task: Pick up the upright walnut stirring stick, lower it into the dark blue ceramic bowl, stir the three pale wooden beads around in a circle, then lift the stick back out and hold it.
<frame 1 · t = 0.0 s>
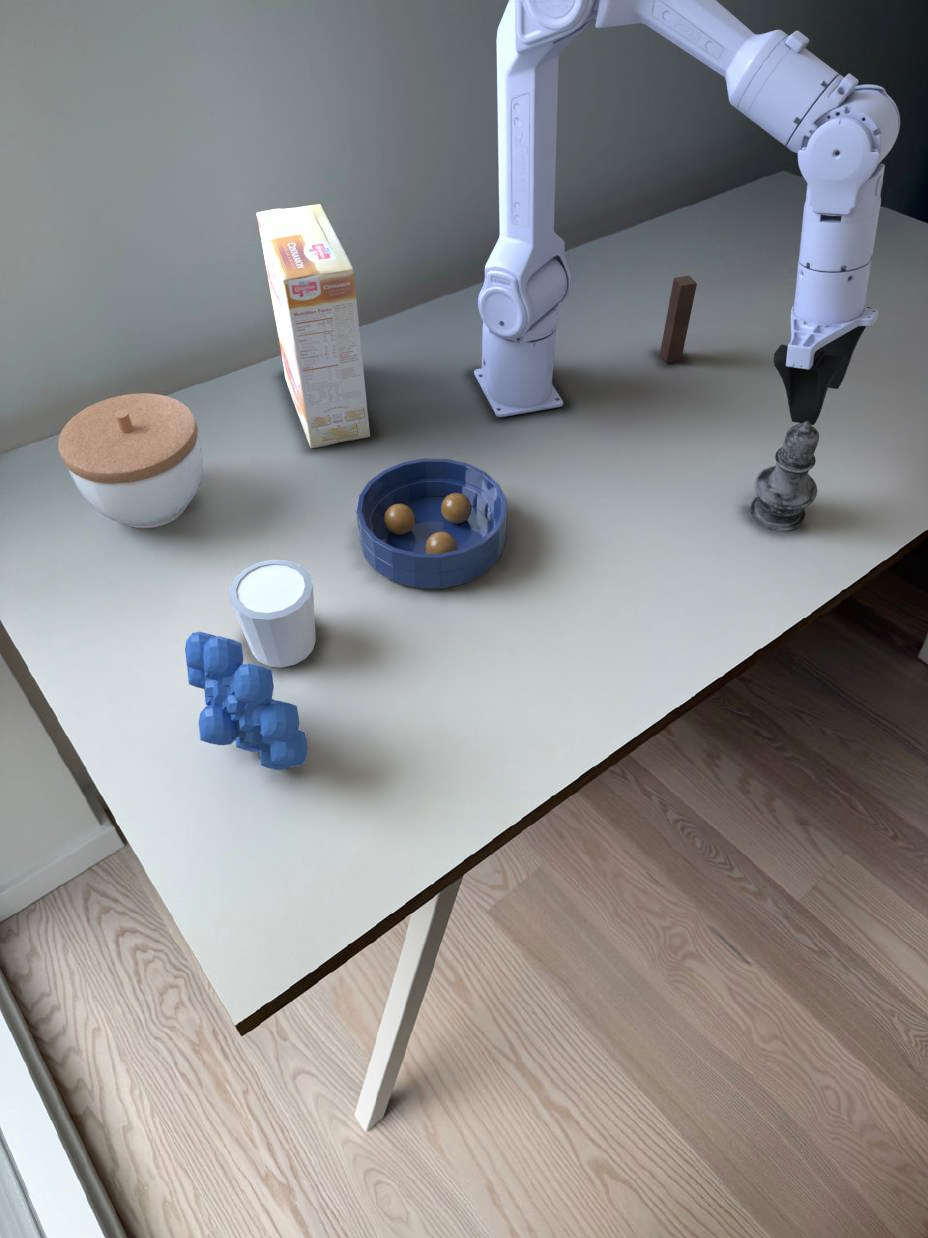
hand: (816, 403, 84), 11 cm above the table, tool pointing down, fingers open, 6 cm apart
grapes: (250, 755, 71), on the table
stick: (670, 358, 108), on the table
coffeecake box: (326, 407, 102), on the table
white cylinder: (283, 644, 78), on the table
grey chess piece: (777, 512, 89), on the table, touching gripper
lidded bowl: (153, 506, 91), on the table
bead b: (456, 508, 87), point 2 cm above the table, touching bowl
bowl: (433, 540, 87), on the table
bead c: (399, 519, 86), point 2 cm above the table, touching bowl
bead a: (441, 547, 83), point 2 cm above the table, touching bowl
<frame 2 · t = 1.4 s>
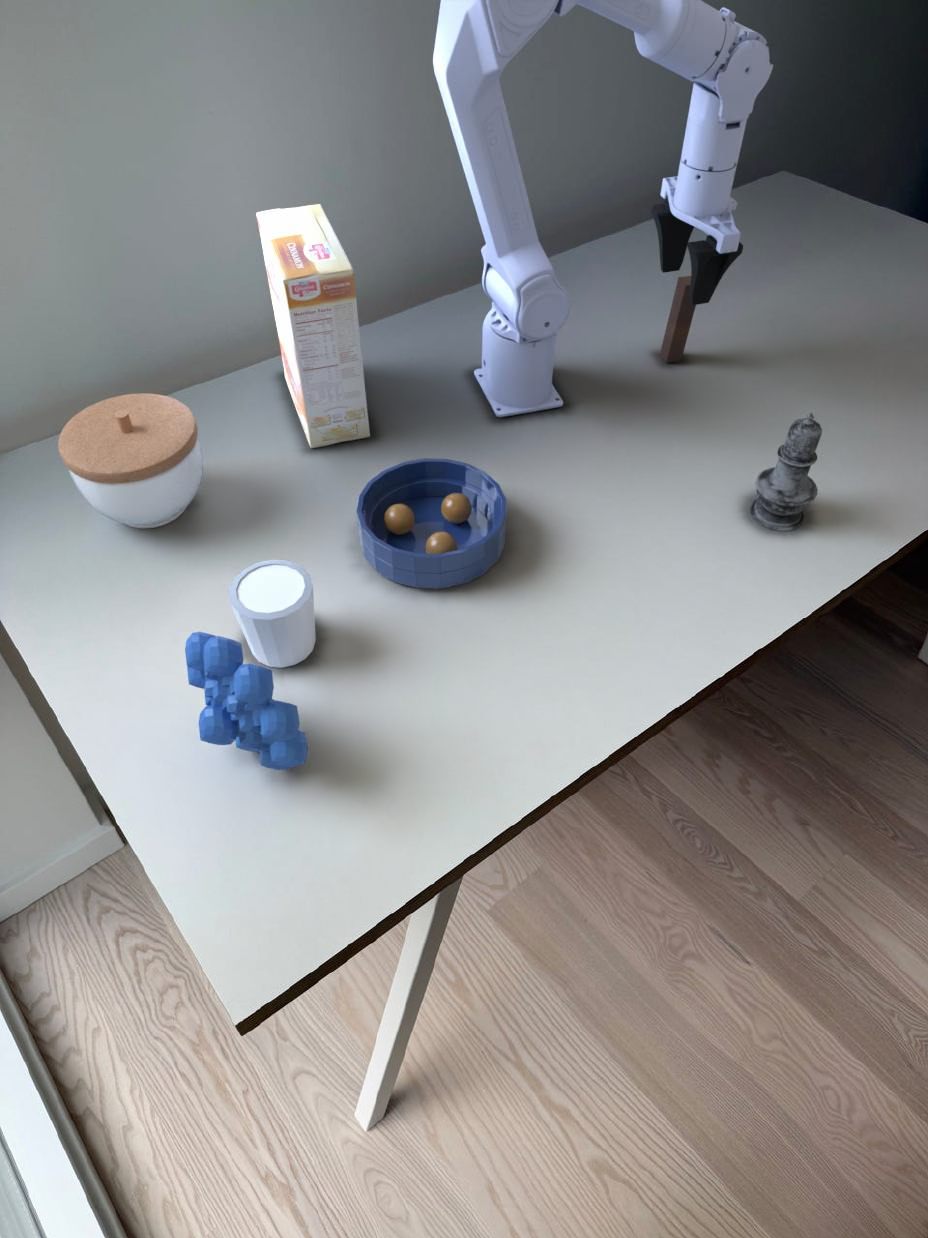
hand: (684, 285, 101), 9 cm above the table, tool pointing down, fingers open, 7 cm apart
grey chess piece: (776, 514, 90), on the table
everything else where it was.
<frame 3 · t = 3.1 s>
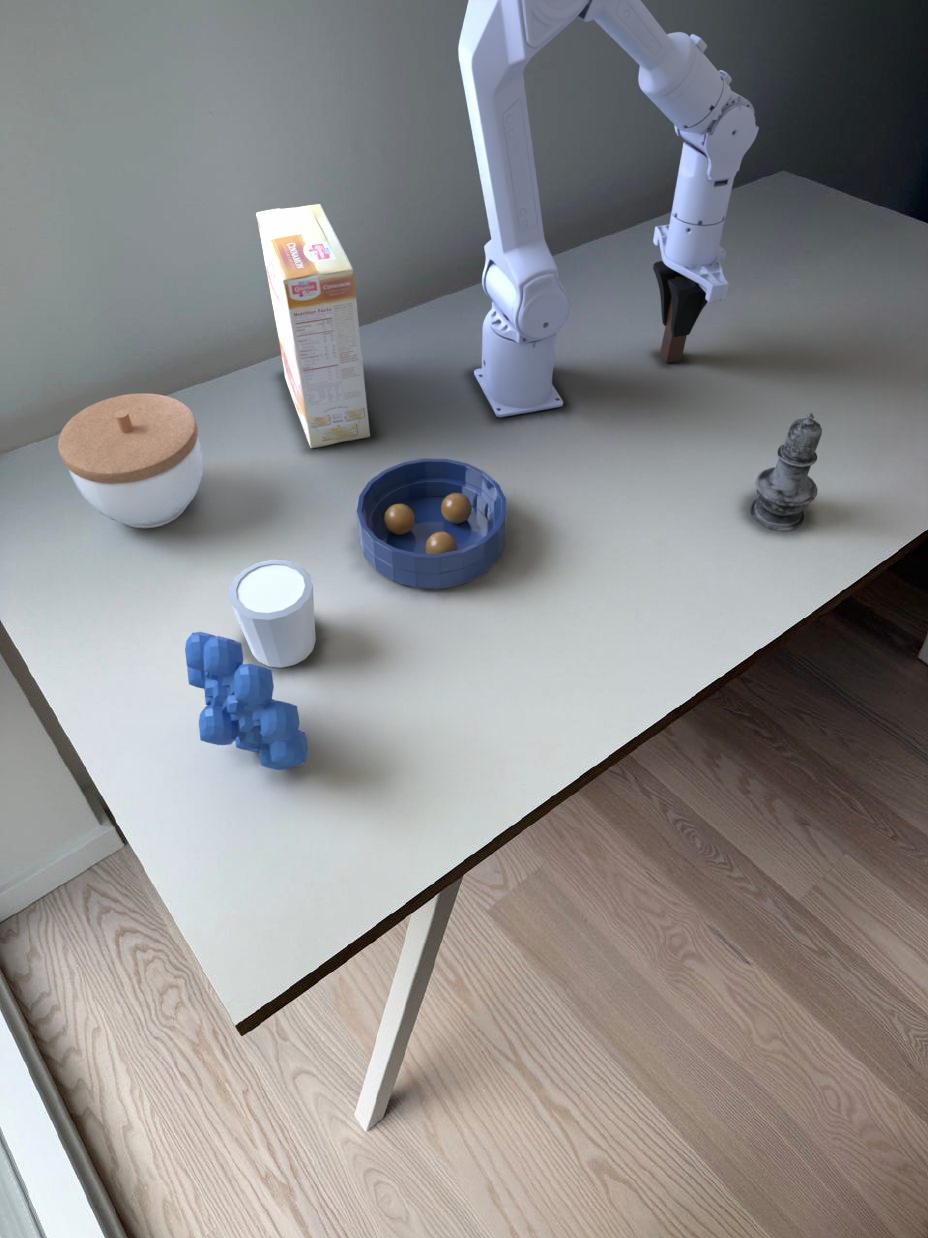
hand: (676, 329, 105), 4 cm above the table, tool pointing down, fingers closed on stick, 2 cm apart
stick: (670, 357, 108), on the table, touching gripper
everything else where it was.
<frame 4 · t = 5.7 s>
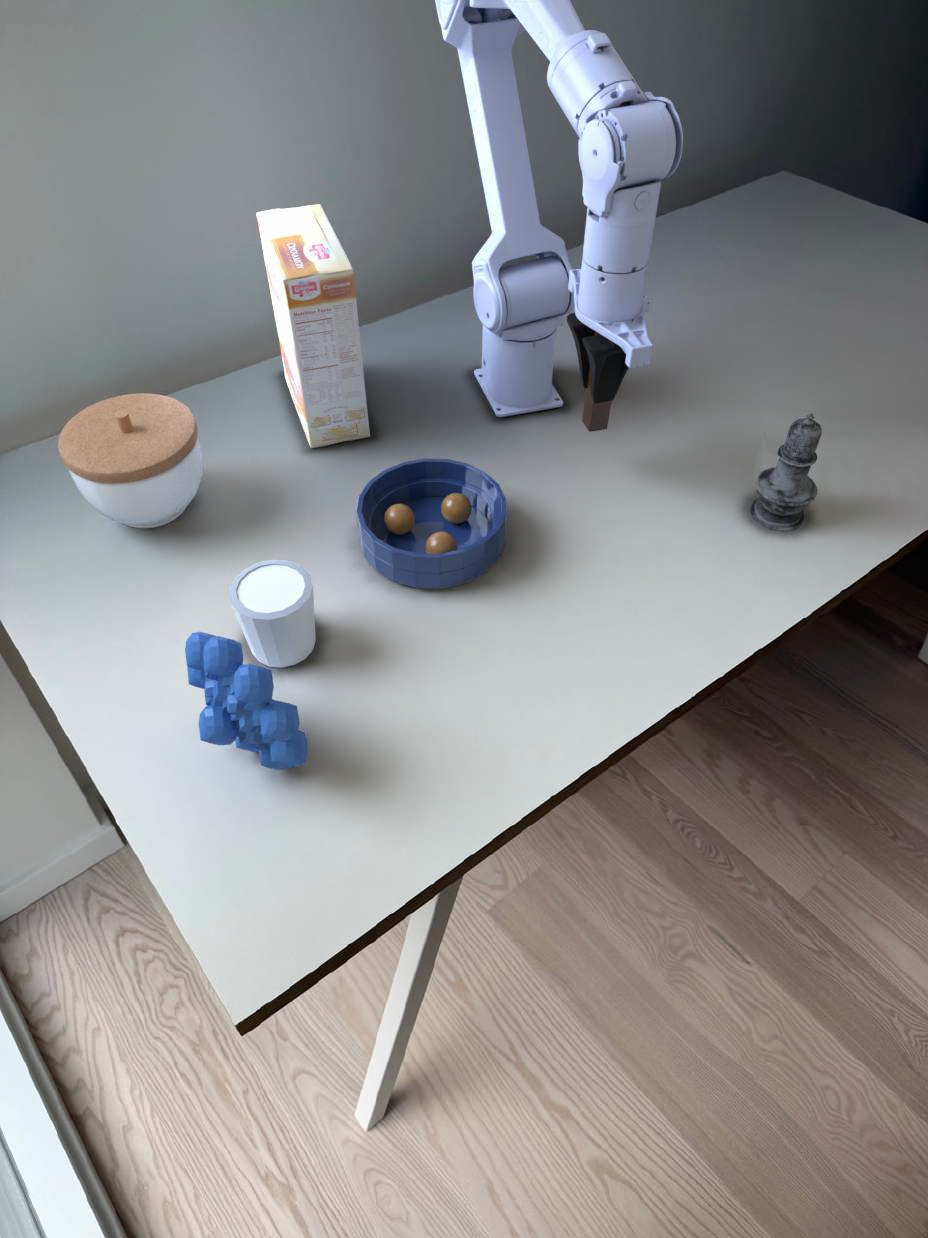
hand: (597, 392, 87), 9 cm above the table, tool pointing down, fingers closed on stick
stick: (594, 425, 90), point 6 cm above the table, touching gripper
everything else where it was.
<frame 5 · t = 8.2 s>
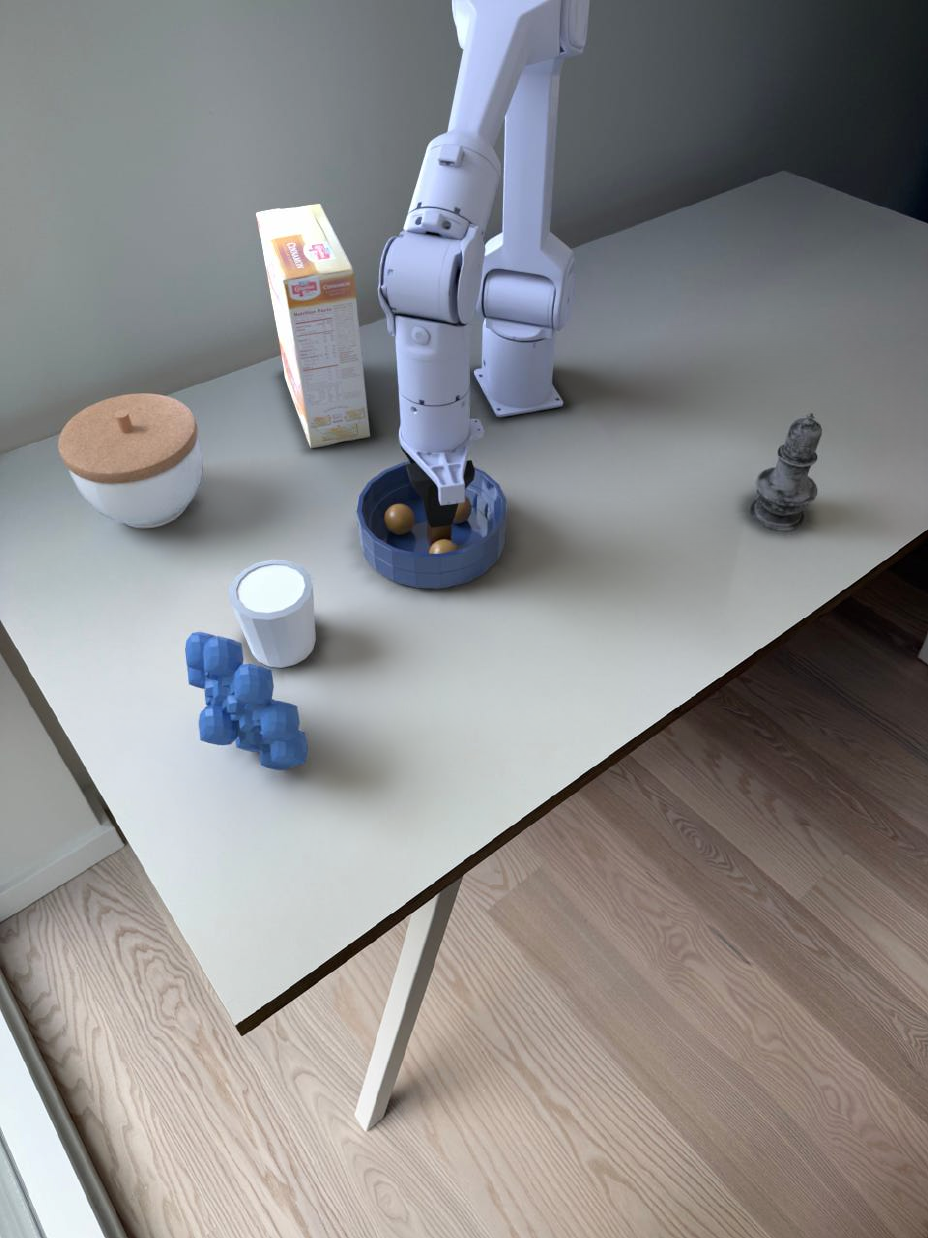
hand: (437, 513, 81), 5 cm above the table, tool pointing down, fingers closed on stick, 2 cm apart
stick: (438, 541, 85), point 2 cm above the table, touching bead a, gripper
bead a: (444, 555, 83), point 2 cm above the table, tilted 39°, touching bowl, stick
everything else where it was.
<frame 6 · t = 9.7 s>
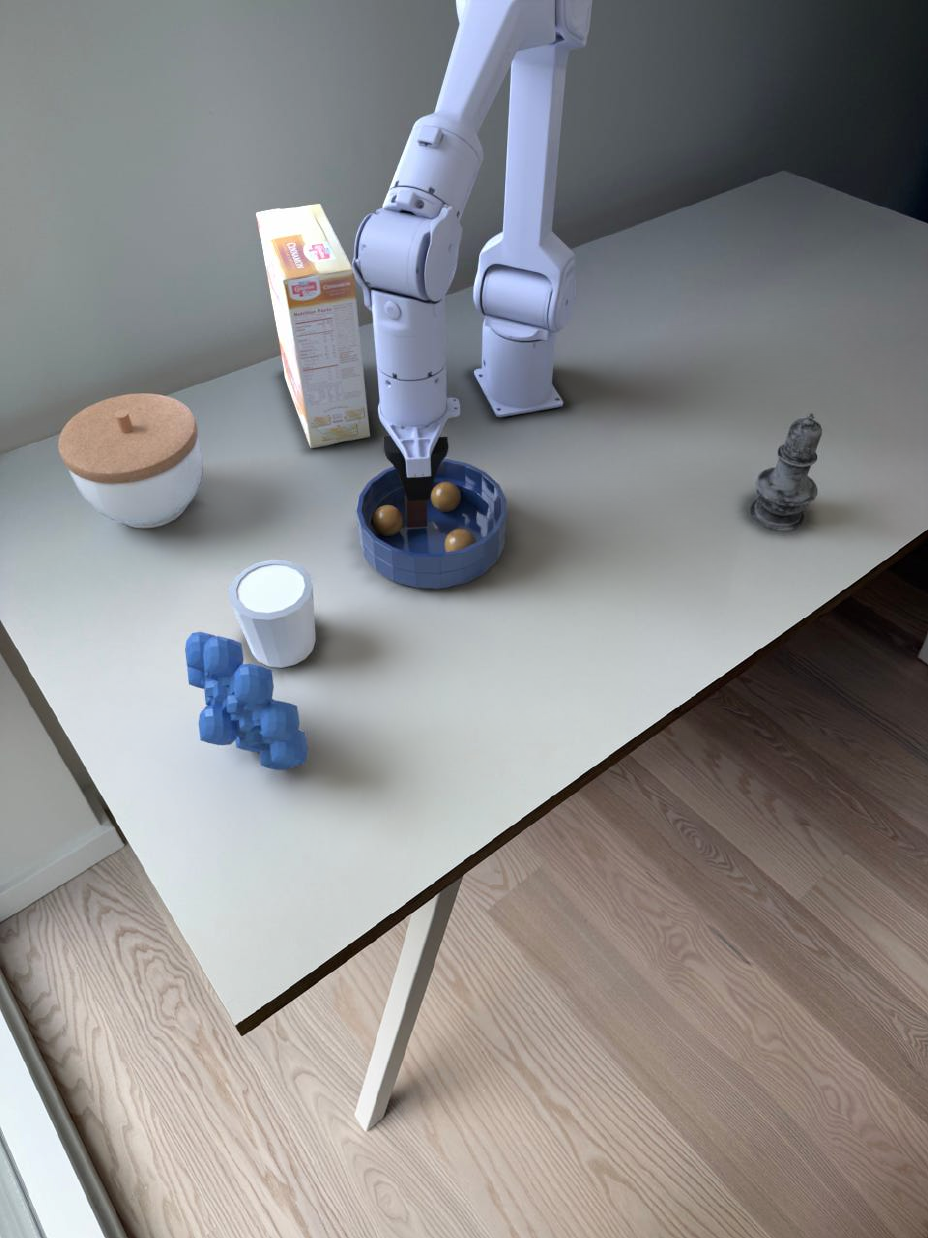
hand: (417, 489, 84), 5 cm above the table, tool pointing down, fingers closed on stick, 2 cm apart
stick: (416, 520, 87), point 1 cm above the table, touching gripper
bead b: (446, 496, 88), point 2 cm above the table, tilted 50°, touching bowl
bead c: (387, 520, 86), point 2 cm above the table, tilted 43°, touching bowl
bead a: (460, 544, 84), point 2 cm above the table, tilted 48°, touching bowl
everything else where it was.
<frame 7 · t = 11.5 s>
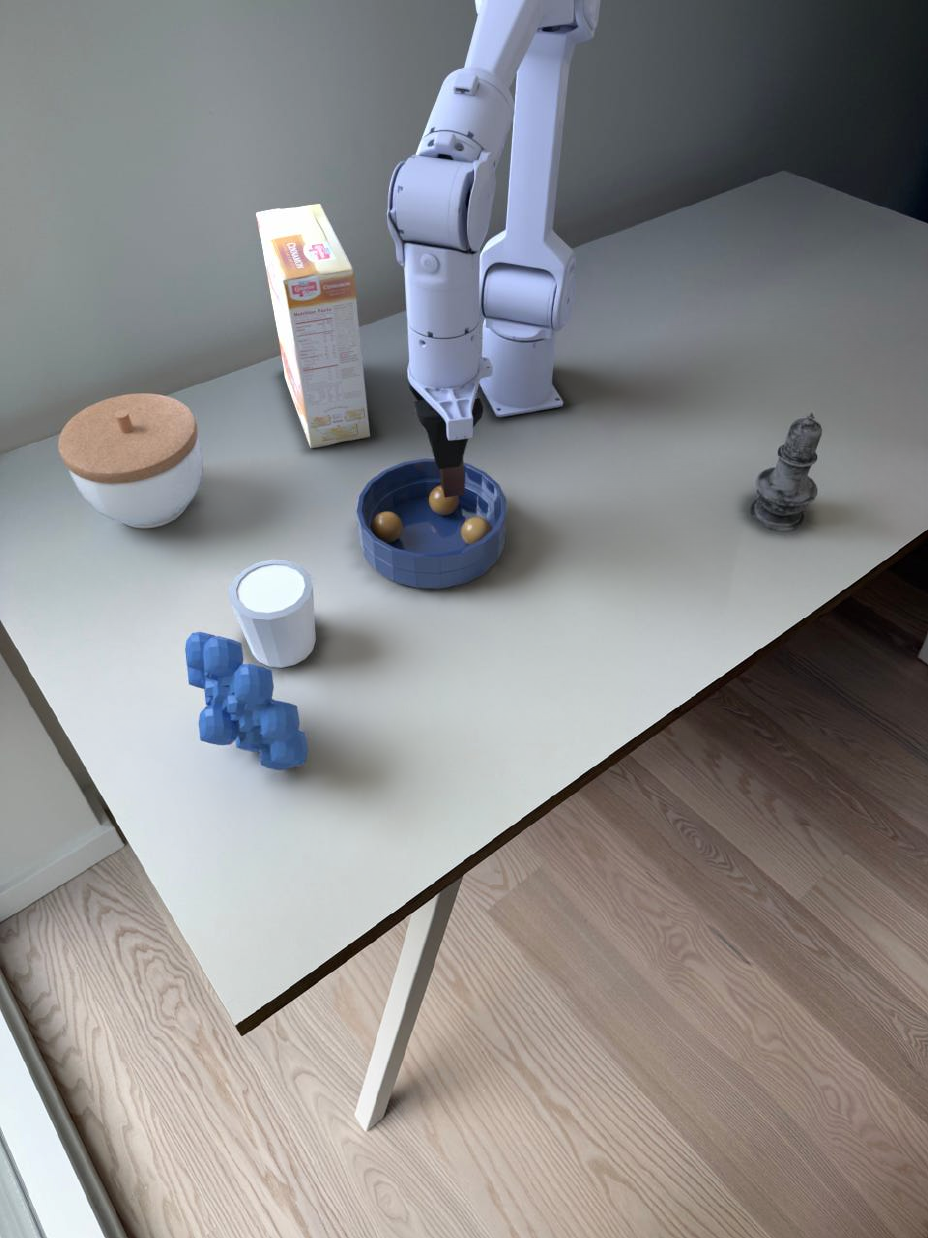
hand: (445, 456, 81), 9 cm above the table, tool pointing down, fingers closed on stick
stick: (452, 489, 84), point 5 cm above the table, touching gripper
bead b: (444, 500, 88), point 2 cm above the table, tilted 31°, touching bowl
bead a: (476, 532, 85), point 2 cm above the table, tilted 123°, touching bowl
everything else where it was.
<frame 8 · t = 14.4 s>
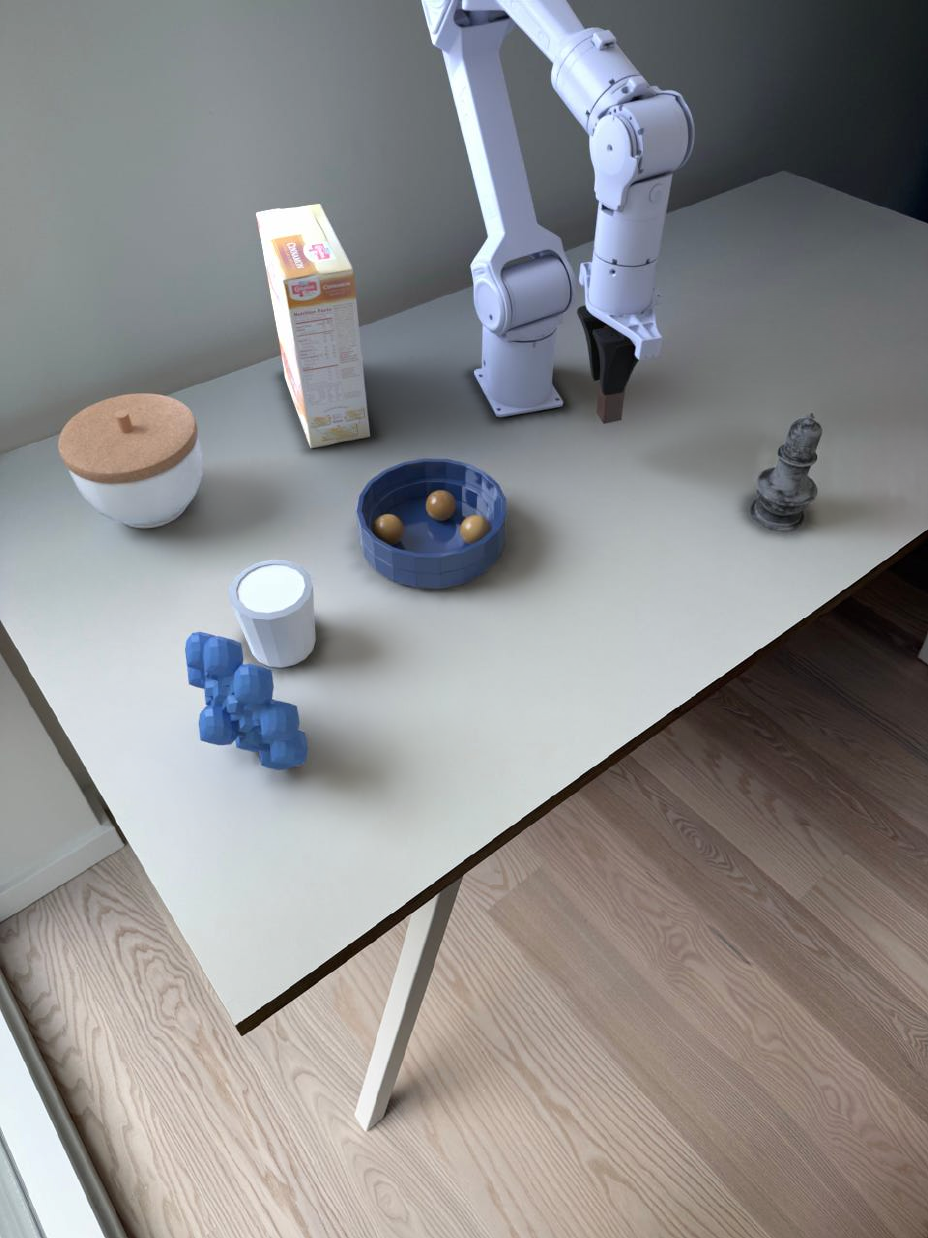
hand: (607, 384, 88), 9 cm above the table, tool pointing down, fingers closed on stick
stick: (608, 416, 91), point 5 cm above the table, touching gripper
bead b: (441, 505, 87), point 2 cm above the table, tilted 10°, touching bowl
at the end: bead a moved 4.0 cm from its start; bead a inside the target area in the bowl (4.2 cm from its centre), point 2.0 cm above the bowl's base; the gripper is holding stick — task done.
